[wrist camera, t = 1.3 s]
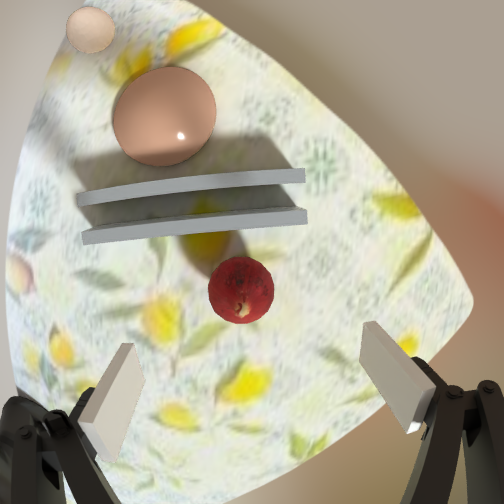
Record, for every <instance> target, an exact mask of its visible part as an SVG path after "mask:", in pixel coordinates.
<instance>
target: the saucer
mask: <svg viewBox="0 0 504 504" xmlns="http://www.w3.org/2000/svg"><path fill="white" fill-rule="evenodd" d="M215 121H216V104H215V99H214V96H213V93H212V91H211V89H210V88H209V86H208V84H207V83H206V82H205V81H204V80H203V79H202V78H201V77H200V76H198V75H197V74H195V73H194V72H192V71H189V70H187V69H183V68H178V67H163V68H158V69H154V70H152V71H149V72H147V73H145V74H143V75H141V76H140V77H138V78H137V79H136V80H134V81H133V82H132V83H131V84H130V85H129V86H128V87H127V88H126V90H125V91H124V92H123V94H122V95H121V97H120V99H119V101H118V103H117V106H116V109H115V114H114V131H115V136H116V138H117V141H118V143H119V145H120V146H121V148H122V149H123V150H124V152H126V153H127V154H128V155H129V156H130V157H131V158H133V159H134V160H136V161H138V162H140V163H143V164H147V165H152V166H170V165H175V164H178V163H181V162H183V161H185V160H187V159H189V158H190V157H192V156H193V155H195V154H196V153H197V152H198V151H199V150H200V149H201V148H202V147H203V146H204V145H205V143H206V142H207V141H208V139H209V137H210V136H211V134H212V131H213V129H214V125H215Z"/></svg>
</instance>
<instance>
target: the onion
mask: <svg viewBox="0 0 504 504" xmlns="http://www.w3.org/2000/svg"><path fill="white" fill-rule="evenodd" d="M208 293H209V301H210V303H211V305H212V307H213V310H214V312H215V313H217V314H218V315H219V316H220V317H222V318H223V319H224V320H226V321H229V322H232V323H235V324H247V323H250V322H253V321H255V320H258V319H259V318H261V317H262V316H263V315H264V314H265V313H266V312H268V310H269V308H270V306H271V304H272V302H273V299H274V283H273V280H272V277H271V274H270V273H269V272H268V270H267V269H266V268H265V267H264V266H263V265H262V264H261V263H260V262H258V261H256V260H254V259H252V258H250V257H233V258H230V259H228V260H226V261H224V262H222V263H221V264H220V265H219V266H218V267H217V268H216V270H215V271H214V272H213V273H212V276H211V278H210V281H209V284H208Z"/></svg>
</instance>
